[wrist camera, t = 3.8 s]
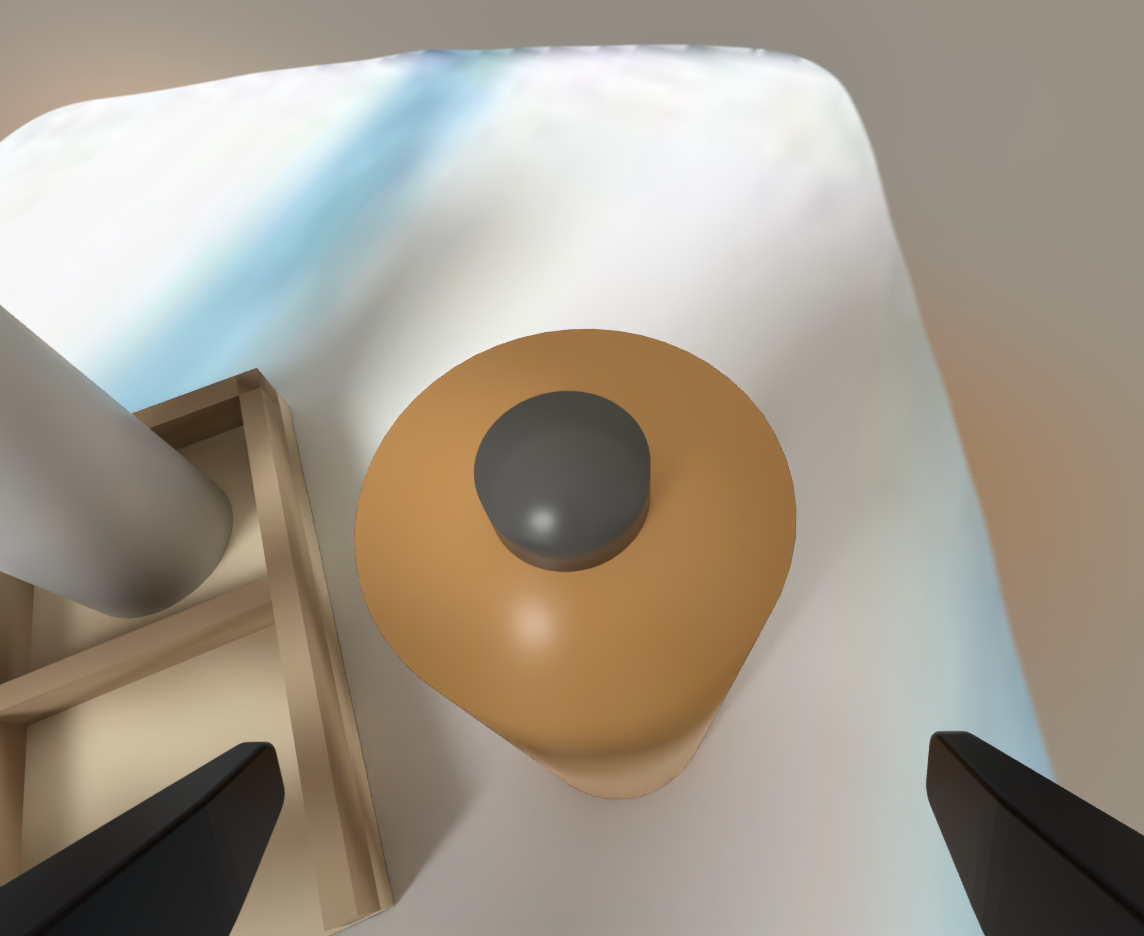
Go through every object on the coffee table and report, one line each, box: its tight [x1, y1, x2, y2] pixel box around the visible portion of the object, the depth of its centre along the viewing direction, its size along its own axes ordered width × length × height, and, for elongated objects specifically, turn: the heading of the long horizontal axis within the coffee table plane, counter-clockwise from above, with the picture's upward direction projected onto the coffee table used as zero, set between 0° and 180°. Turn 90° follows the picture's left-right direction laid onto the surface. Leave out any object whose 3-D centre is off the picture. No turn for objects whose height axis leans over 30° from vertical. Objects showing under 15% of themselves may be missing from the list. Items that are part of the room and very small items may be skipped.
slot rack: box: [0, 368, 394, 936], centre depth 20 cm, size 18×10×2 cm, turn 22°
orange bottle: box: [354, 329, 796, 799], centre depth 13 cm, size 5×5×14 cm
